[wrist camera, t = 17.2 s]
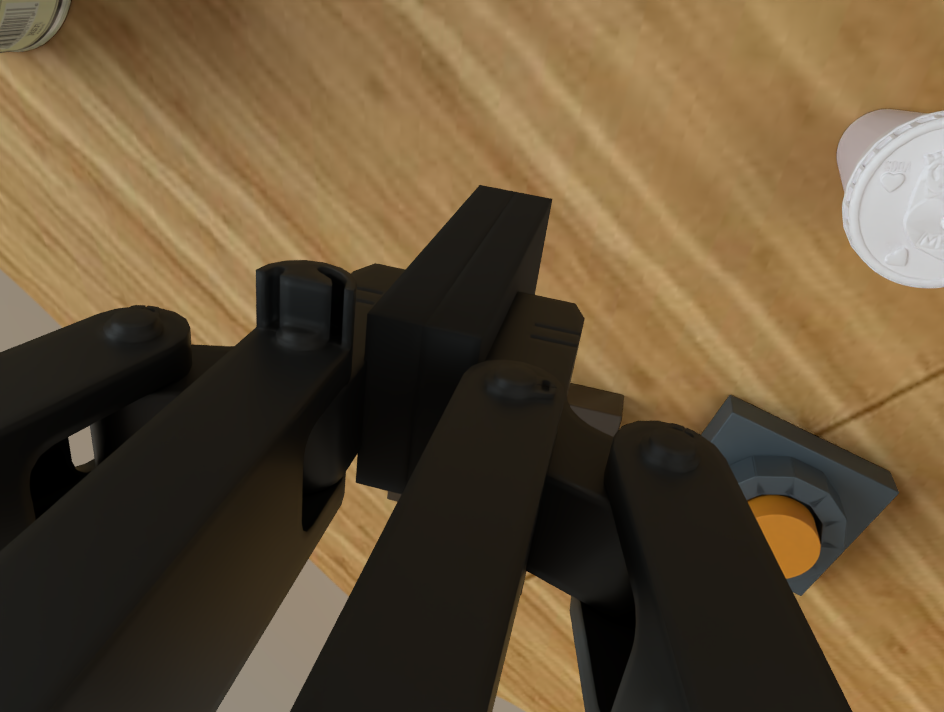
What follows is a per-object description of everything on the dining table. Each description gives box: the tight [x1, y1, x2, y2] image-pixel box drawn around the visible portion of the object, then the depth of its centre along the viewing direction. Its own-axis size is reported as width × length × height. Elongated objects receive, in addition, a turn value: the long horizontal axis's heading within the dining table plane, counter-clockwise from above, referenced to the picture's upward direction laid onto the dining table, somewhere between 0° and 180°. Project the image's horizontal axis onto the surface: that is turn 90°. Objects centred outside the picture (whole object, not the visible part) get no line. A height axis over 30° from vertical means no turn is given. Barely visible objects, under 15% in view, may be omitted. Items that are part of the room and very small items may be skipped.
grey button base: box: [701, 395, 899, 596], centre depth 43 cm, size 10×9×4 cm
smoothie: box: [837, 109, 944, 288], centre depth 29 cm, size 6×6×14 cm
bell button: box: [747, 495, 821, 579], centre depth 41 cm, size 4×4×2 cm
